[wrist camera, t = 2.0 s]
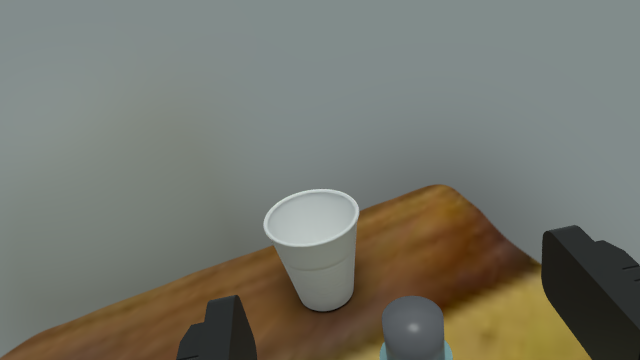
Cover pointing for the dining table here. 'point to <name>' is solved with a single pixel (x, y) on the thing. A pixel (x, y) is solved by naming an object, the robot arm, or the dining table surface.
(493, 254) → the dining table surface
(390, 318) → the plug
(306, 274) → the cup
